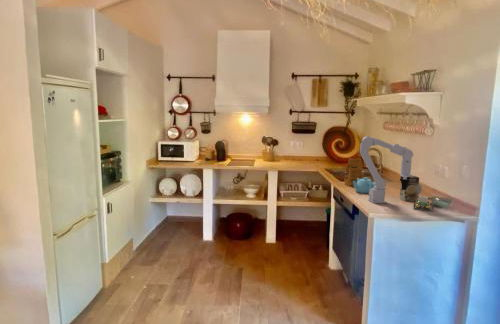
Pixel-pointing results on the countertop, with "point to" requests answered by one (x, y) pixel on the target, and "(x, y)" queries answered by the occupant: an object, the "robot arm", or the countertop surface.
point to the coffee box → (410, 190)
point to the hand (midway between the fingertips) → (404, 188)
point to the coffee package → (353, 171)
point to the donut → (419, 189)
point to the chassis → (423, 207)
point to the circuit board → (422, 200)
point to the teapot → (363, 185)
